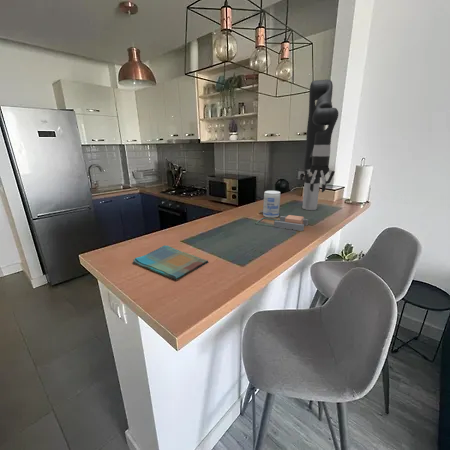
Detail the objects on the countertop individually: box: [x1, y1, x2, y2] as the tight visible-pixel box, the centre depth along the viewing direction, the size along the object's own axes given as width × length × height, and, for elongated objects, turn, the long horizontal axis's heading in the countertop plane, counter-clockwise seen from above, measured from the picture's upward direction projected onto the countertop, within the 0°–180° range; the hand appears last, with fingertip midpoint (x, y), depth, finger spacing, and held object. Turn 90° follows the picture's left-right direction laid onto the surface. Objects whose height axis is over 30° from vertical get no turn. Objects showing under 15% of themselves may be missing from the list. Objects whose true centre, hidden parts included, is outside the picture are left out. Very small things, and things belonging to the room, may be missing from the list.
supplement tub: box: [262, 190, 281, 219], centre depth 148 cm, size 10×10×15 cm
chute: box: [273, 215, 309, 232], centre depth 132 cm, size 11×15×3 cm
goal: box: [255, 217, 280, 227], centre depth 138 cm, size 12×10×1 cm
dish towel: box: [132, 245, 209, 282], centre depth 93 cm, size 17×23×2 cm
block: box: [285, 214, 305, 224], centre depth 131 cm, size 7×8×5 cm
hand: (317, 191), depth 121 cm, fingers open, 4 cm apart
